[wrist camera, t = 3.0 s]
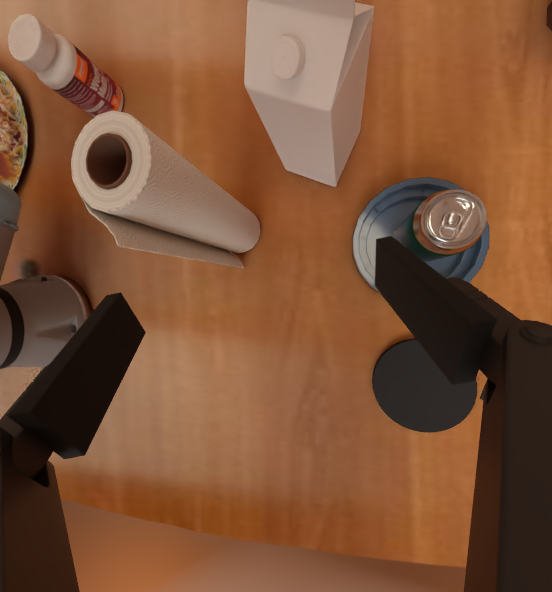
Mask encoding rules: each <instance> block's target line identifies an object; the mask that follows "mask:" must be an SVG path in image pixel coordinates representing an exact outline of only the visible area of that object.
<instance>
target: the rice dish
mask: <svg viewBox="0 0 552 592" xmlns="http://www.w3.org/2000/svg"><path fill="white" fill-rule="evenodd" d="M24 108H25V107H24V105H23V100H22V97H21V95H20V93H19V91H18V90H17V89H16V86H15V85H14V83H13V81H12V80H10V77H9V76H7V75H6V74H5V73H4V72H3V71H1V70H0V183H2V184H4V185H6V186H8V187H9V188H11V189H12V190H13V191H14V190H15V187H16V186H17V185H18V182H19V179H20V177H21V172H22V171H23V168H24V164H25V163H26V161H25V159H26V157H27V147H28V136H27V134H28V127H29V125H28V122H27V116H26V113H25V111H24Z"/></svg>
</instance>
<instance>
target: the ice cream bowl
mask: <svg viewBox="0 0 552 592" xmlns="http://www.w3.org/2000/svg"><path fill="white" fill-rule="evenodd" d="M547 26H548V27H549V28H550V29H551V30H552V3H551V4H550V5H549V7H548V8H547Z"/></svg>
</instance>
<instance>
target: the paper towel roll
mask: <svg viewBox="0 0 552 592" xmlns="http://www.w3.org/2000/svg"><path fill="white" fill-rule="evenodd" d="M71 168H72V180H73V182H74V184H75V186H76V188H77V190H78V193H79V195H80V197H81V198H82V200H83V202H84V204H85V206H86V207H87V209H88V211H89V213H91V214H92V215H93V216H94V217H96V218H97V219H98V220H99V221H101V222H102V223H103V224H104V225H105V226H106V227H107V228H108V229H109V231H110V232H111V233H112V235H113V236H114V238H115V240H116V243H117V245H118V246H119V247H124V248H130V249H136V250H141V251H147V252H153V253H158V254H164V255H170V256H176V257H181V258H187V259H193V260H198V261H204V262H210V263H215V264H221V265H227V266H232V267H238V268H244V267H243V264H242V263H241V262H240V261H239V259H238V258H236V257H235V256H234V255H232V254H231V253H230V252H229V251H232V252H235V253H243V252H246V251H248V250H250V249H252V248H253V247H254V246H255V244H256V243H257V242H258V239H259V236H260V223H259V221H258V219H257V217H256V216H255V215H254V214H253V213H252V212H251V211H250V210H248V209H247V208H246V207H245V206H243V205H242V204H241V203H240V202H238V201H237V200H236V199H235V198H233V197H232V196H231V195H230V194H228V193H227V192H226V191H225V190H224V189H222V188H221V187H220V186H219V185H217V184H216V183H215V182H214V181H212V180H211V179H210V178H209V177H207V176H206V175H205V174H204V173H202V172H201V171H200V170H199V169H197V168H196V167H195V166H194V165H193V164H191V163H190V162H189V161H188V160H186V159H185V158H184V157H183V156H181V155H180V154H179V153H178V152H176V151H175V150H174V149H173V148H171V147H170V146H169V145H168V144H166V143H165V142H164V141H163V140H161V139H160V138H159V137H158V136H157V135H155V134H154V133H153V132H152V131H150V130H149V129H148V128H147V127H145V126H144V125H143V124H142V123H140V122H139V121H138V120H137V119H135V118H134V117H133V116H132V115H130V114H127V113H123V112H118V111H114V110H113V111H109V112H106V113H102V114H99V115H97V116H96V117H95V118H93V119H92V120H91V121H90V122H89V123H88V124H86V125H85V126H84V128H83V129H82V131H81V133H80V135H79V136H78V138H77V140H76V142H75V145H74V150H73V154H72V159H71ZM228 250H229V251H228Z"/></svg>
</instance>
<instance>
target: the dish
mask: <svg viewBox="0 0 552 592" xmlns="http://www.w3.org/2000/svg"><path fill="white" fill-rule="evenodd" d="M448 189H455V190H465V189H463V188H461V187H459V186H457V185H455V184H454V183H452V182H450V181H446V180H440V179H435V178H429V177H428V178H427V177H424V178H416V179H407V180H404V181H402V182H399V183H397V184H394V185H392V186H390V187H387V188H386V189H384V190H383V191H382V192H380V193H379V194H378V195H377V196H376V197H374V198H373V199H372V200H371V201H370V202H369V203H368V204H367V206H366V207H365V209H364V210H363V212H362V213H361V215H360V216H359V218H358V221H357V224H356V227H355V230H354V233H353V237H352V256H353V259H354V262H355V265H356V268H357V270H358V272H359V274H360V275H361V277H362V278H363V279H364V280H365V282H366V283H367V284H368V285H369V286H370V287H371V288H373V289H374V290H376V291H377V292H379V290H378V289H377V288H376V287H375V261H376V239H379V238H384V237H388V236H392V234H393V232H394V231H395V230H396V229H397V227H398V226H399V225H400V224H401V223H402V222H403V221H404V220H405V219H406V218H407V217H408V216H409V215H410V214H411V213H412V211H413V210H414V209H415V208H416V207H417V206H418V205H419V204H420V203H421V202H422V201H423V200H424V199H425V198H427V197H428V196H430V195H431V194H433V193H436V192H439V191H442V190H448ZM465 191H467V190H465ZM488 249H489V224H488V222H487V223H486V226H485V228H484V231H483V233H482V235H481V237H480V238H479V240H478V241H477V242H476V243H475V244H474V245H473V246H472V247H471V248H469V249H467V250H466V251H464V252H461V253H459V254H455V255H452V256H448V257H445V258H441V259H437V260H434V261H430V262H426V263H427V264H428V265H429V266H430V267H432V268H433V269H434V270H436V271H437V272H438V273H439V274H441V275H442V276H443V277H444V278H451V277H456V278H459V279H461V280H464V281H466V282H470V281H471V280H472V278H473V277H474V276H475V275H476V274H477V272H478V271H479V270H480V269H481V267H482V265H483V262H484V260H485V257H486V254H487V251H488ZM379 293H380V292H379ZM380 294H381V293H380Z"/></svg>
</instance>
